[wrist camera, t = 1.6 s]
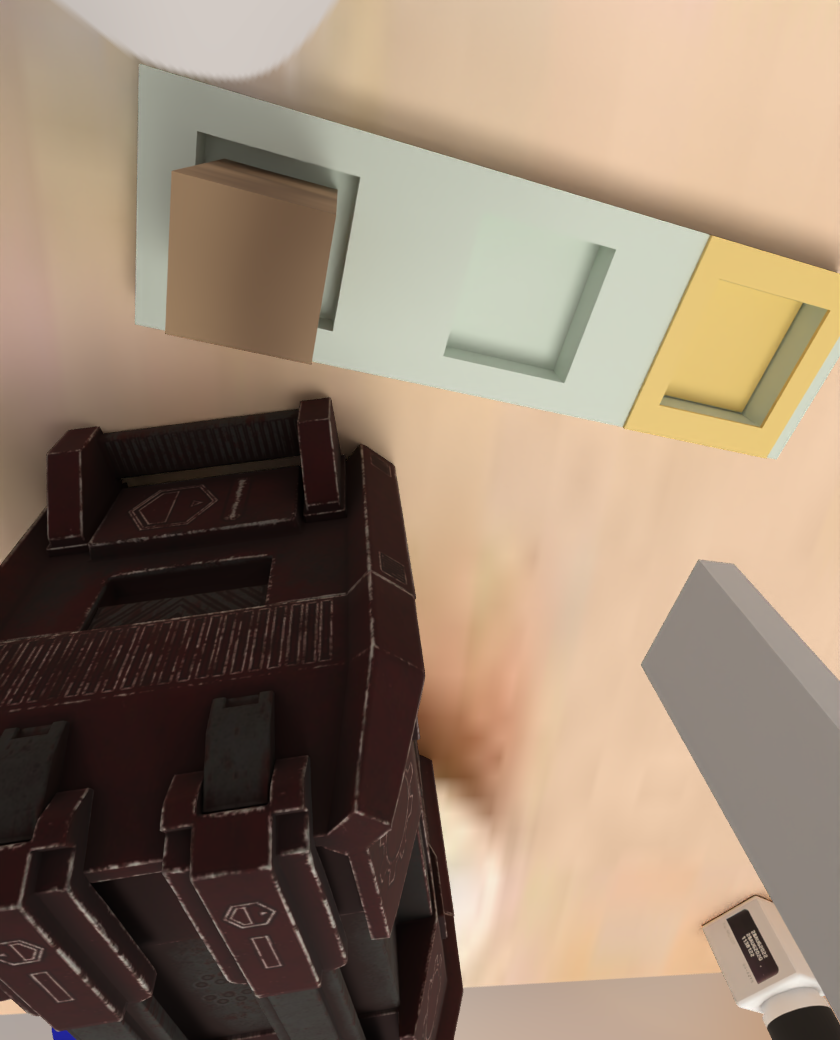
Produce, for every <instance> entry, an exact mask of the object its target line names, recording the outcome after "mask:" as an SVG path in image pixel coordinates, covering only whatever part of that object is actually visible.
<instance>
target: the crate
mask: <svg viewBox="0 0 840 1040" xmlns="http://www.w3.org/2000/svg"><path fill="white" fill-rule="evenodd" d="M293 456H300V457H301V466H302V467H301V466H299V465H298V466H290V467H283V468H275V469H268V470H260V471H252V472H244V473H237V474H229V475H221V476H213V477H206V478H198V479H190V480H183V481H175V482H167V483H159V484H152V485H144V486H136V487H128V485H127V483H123V482H122V480H121V479H122V478H130V477H137V476H145V475H153V474H161V473H168V472H176V471H184V470H192V469H199V468H207V467H215V466H223V465H231V464H238V463H246V462H254V461H262V460H269V459H277V458H285V457H293ZM415 599H416V594H415V588H414V582H413V576H412V569H411V563H410V557H409V551H408V544H407V538H406V532H405V526H404V520H403V513H402V507H401V501H400V495H399V488H398V482H397V476H396V470H395V466H394V465H393V464H392V463H390V462H389V461H387V460H386V459H384V458H383V457H381V456H380V455H378V454H377V453H376V452H374V451H373V450H371V449H370V448H368V447H367V446H365V445H363V444H361V445H359V446H358V447H357V449H356V450H355V451H354V452H353V453H352V455H351V456H350V457H349V458H348V459H347V461H346V459H345V455H341V451H340V445H339V440H338V434H337V429H336V423H335V417H334V412H333V406H332V400H331V398H322V399H314V400H306V401H300V407H299V409H295V410H287V411H279V412H271V413H263V414H255V415H247V416H240V417H232V418H224V419H216V420H208V421H200V422H192V423H184V424H176V425H168V426H160V427H152V428H144V429H136V430H128V431H120V432H112V433H104V434H103V432H102V430H101V429H100V427H90V428H82V429H74V430H68V431H67V432H66V433H65V435H64V436H63V437H62V438H61V439H60V440H59V441H58V442H57V443H56V444H55V445H54V447H53V448H52V449H51V450H50V451H49V452H48V453H47V506H46V508H45V509H44V510H43V511H42V513H41V514H40V515H39V516H38V518H37V519H36V520H35V522H34V523H33V524H32V525H31V527H30V528H29V529H28V530H27V532H26V533H25V534H24V536H23V537H22V538H21V539H20V541H19V542H18V543H17V544H16V546H15V547H14V548H13V550H12V551H11V552H10V553H9V555H8V556H7V557H6V558H5V560H4V561H3V562H2V564H1V565H0V1001H5V1000H9V999H12V1000H13V1001H14V1002H15V1003H16V1004H18V1005H19V1006H20V1007H21V1008H22V1009H23V1010H24V1011H25V1012H26V1013H28V1014H30V1015H34V1016H41V1017H42V1018H43V1019H44V1020H45V1021H46V1022H47V1023H48V1024H49V1025H50V1026H51V1027H53V1028H54V1029H55V1030H56V1031H57V1032H59V1031H65V1030H67V1031H68V1032H69V1033H70V1034H71V1035H72V1036H73V1037H74V1038H75V1039H76V1040H454V1035H455V1031H456V1025H457V1021H458V1015H459V1011H460V1006H461V1001H462V996H463V985H462V977H461V970H460V962H459V955H458V948H457V940H456V932H455V924H454V910H453V903H452V896H451V889H450V882H449V875H448V868H447V861H446V854H445V848H444V841H443V834H442V827H441V820H440V813H439V806H438V799H437V792H436V785H435V778H434V771H433V764H432V760H430V759H428V758H425V757H423V756H421V755H419V752H418V745H417V740H419V739H420V734H419V726H418V718H417V714H418V709H419V704H420V700H421V695H422V691H423V686H424V680H425V669H424V662H423V655H422V648H421V641H420V634H419V627H418V620H417V612H416V604H415Z"/></svg>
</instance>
